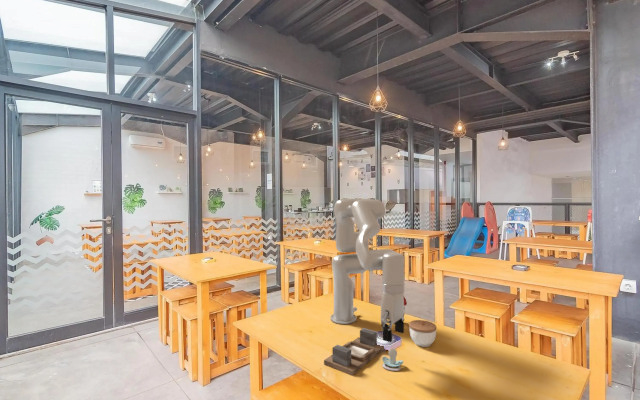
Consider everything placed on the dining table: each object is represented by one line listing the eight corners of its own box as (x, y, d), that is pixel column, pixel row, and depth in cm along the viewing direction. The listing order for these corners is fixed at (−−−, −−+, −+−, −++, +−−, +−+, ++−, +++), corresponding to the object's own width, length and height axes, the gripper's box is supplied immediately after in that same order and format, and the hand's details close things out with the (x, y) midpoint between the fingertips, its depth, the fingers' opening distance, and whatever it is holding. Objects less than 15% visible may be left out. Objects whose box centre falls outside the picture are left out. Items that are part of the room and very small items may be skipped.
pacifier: (400, 374, 114) (404, 365, 119) (400, 356, 113) (404, 348, 119) (379, 369, 117) (384, 361, 122) (379, 351, 116) (384, 344, 122)
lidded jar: (404, 343, 136) (404, 321, 136) (416, 335, 144) (416, 314, 144) (429, 352, 129) (429, 328, 129) (440, 343, 137) (440, 320, 136)
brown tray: (358, 340, 139) (358, 325, 138) (384, 349, 131) (384, 332, 131) (324, 364, 119) (324, 346, 119) (352, 375, 112) (352, 356, 112)
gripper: (394, 281, 127) (394, 326, 127) (372, 291, 113) (372, 342, 113) (412, 284, 122) (413, 331, 122) (392, 295, 109) (392, 347, 109)
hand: (393, 336), depth 118 cm, fingers open, 9 cm apart
